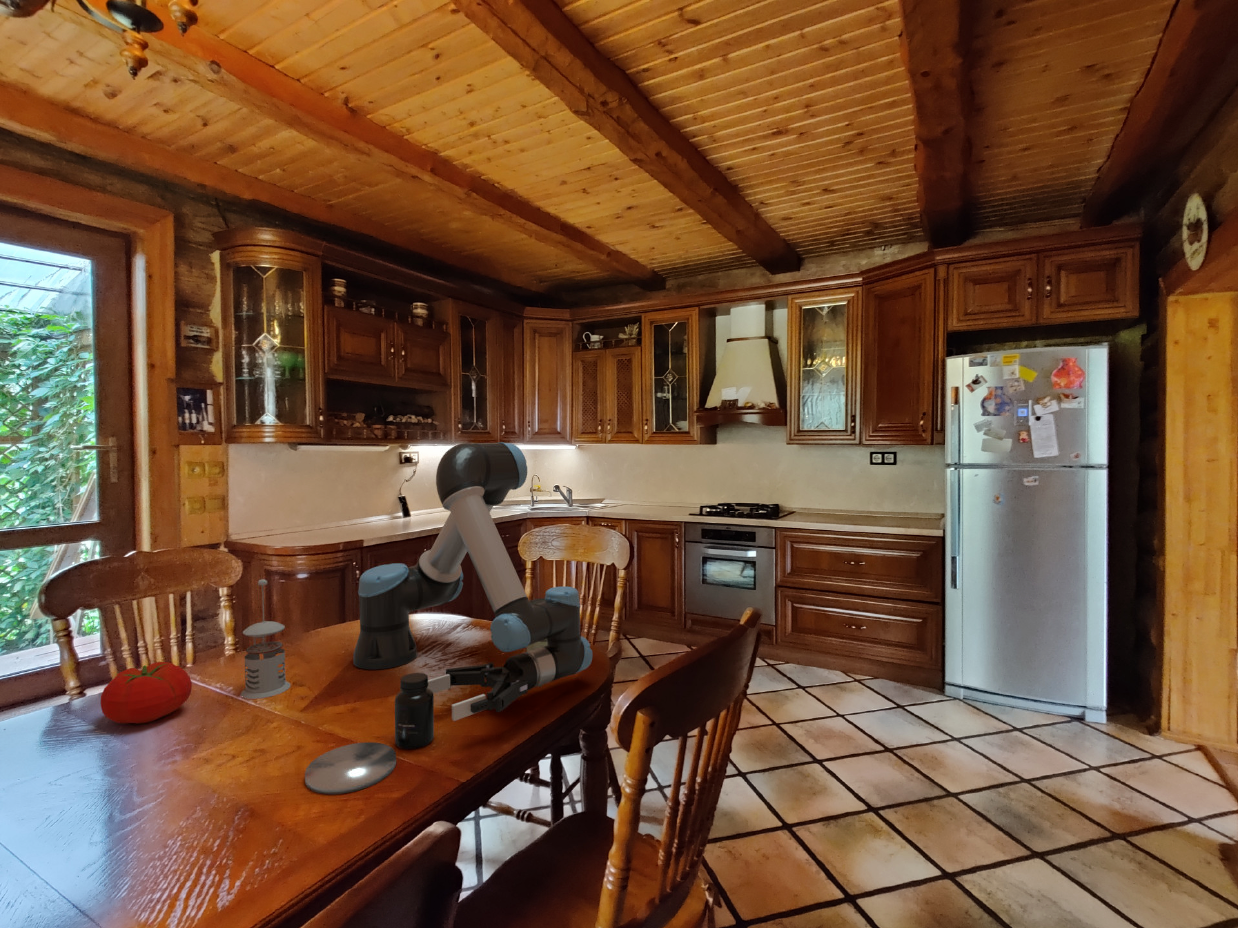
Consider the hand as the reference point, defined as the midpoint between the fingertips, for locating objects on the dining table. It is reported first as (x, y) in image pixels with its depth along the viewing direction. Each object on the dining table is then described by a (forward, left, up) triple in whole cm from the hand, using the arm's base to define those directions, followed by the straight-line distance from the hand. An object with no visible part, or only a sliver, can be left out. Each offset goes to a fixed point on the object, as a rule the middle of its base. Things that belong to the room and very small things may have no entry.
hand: (434, 701), depth 113 cm
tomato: (-49, -39, -7) cm, 63 cm away
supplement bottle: (-1, -4, -7) cm, 8 cm away
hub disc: (+1, -16, -7) cm, 17 cm away
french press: (-48, -18, -7) cm, 51 cm away
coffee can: (-19, +39, -7) cm, 44 cm away
